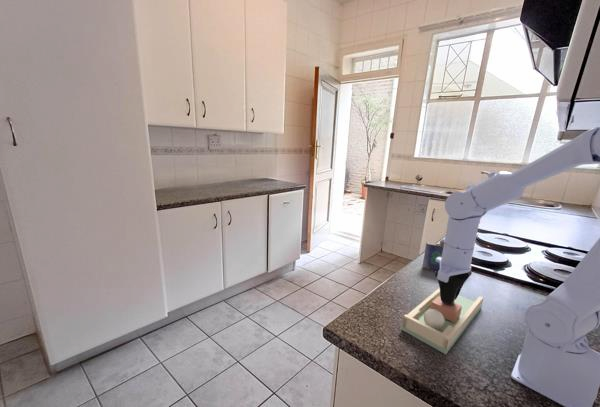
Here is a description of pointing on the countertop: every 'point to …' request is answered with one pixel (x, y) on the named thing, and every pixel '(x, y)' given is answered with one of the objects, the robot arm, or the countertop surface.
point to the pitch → (449, 331)
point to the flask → (432, 255)
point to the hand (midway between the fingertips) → (448, 299)
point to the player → (447, 309)
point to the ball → (434, 319)
